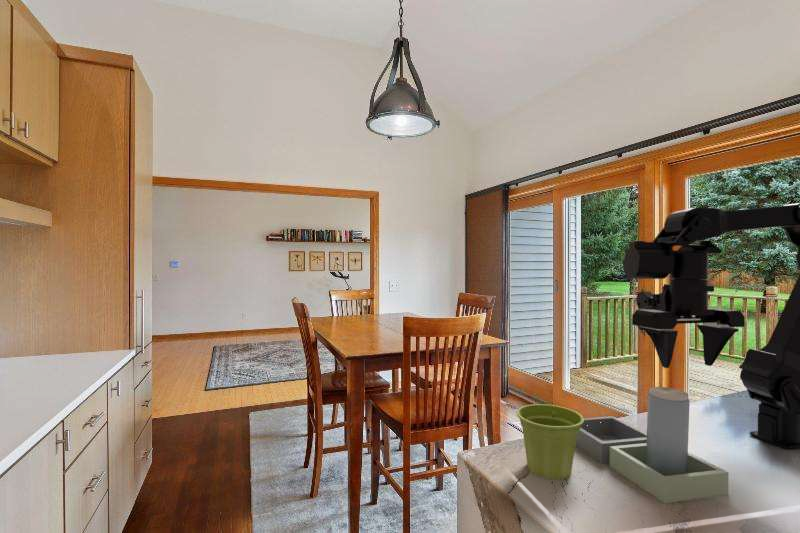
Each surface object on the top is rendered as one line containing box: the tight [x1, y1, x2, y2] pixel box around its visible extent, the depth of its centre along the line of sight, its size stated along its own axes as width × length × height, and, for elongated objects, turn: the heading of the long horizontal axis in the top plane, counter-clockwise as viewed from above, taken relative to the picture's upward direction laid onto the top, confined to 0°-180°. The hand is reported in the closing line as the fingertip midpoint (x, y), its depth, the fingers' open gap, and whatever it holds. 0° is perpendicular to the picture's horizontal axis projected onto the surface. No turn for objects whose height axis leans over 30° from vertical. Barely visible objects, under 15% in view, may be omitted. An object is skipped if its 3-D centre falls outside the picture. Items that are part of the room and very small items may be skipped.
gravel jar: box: [646, 386, 690, 476], centre depth 60 cm, size 5×5×12 cm
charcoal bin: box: [575, 415, 647, 464], centre depth 71 cm, size 10×10×4 cm
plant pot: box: [516, 403, 584, 480], centre depth 63 cm, size 9×9×9 cm
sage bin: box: [609, 443, 730, 505], centre depth 60 cm, size 10×10×4 cm
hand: (687, 366), depth 75 cm, fingers open, 9 cm apart
